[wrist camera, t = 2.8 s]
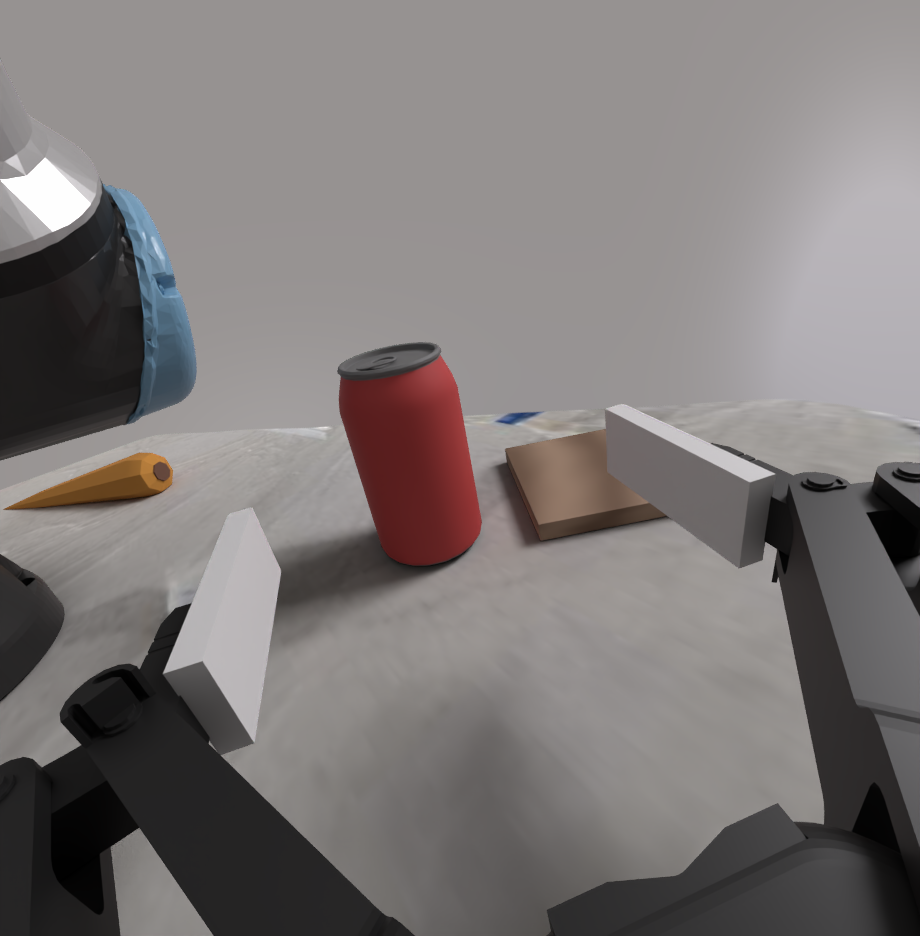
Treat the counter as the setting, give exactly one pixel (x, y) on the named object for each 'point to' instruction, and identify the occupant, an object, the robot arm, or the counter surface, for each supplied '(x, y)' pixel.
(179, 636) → the robot arm
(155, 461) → the carrot
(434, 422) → the beer can
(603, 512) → the walnut board
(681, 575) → the counter surface
